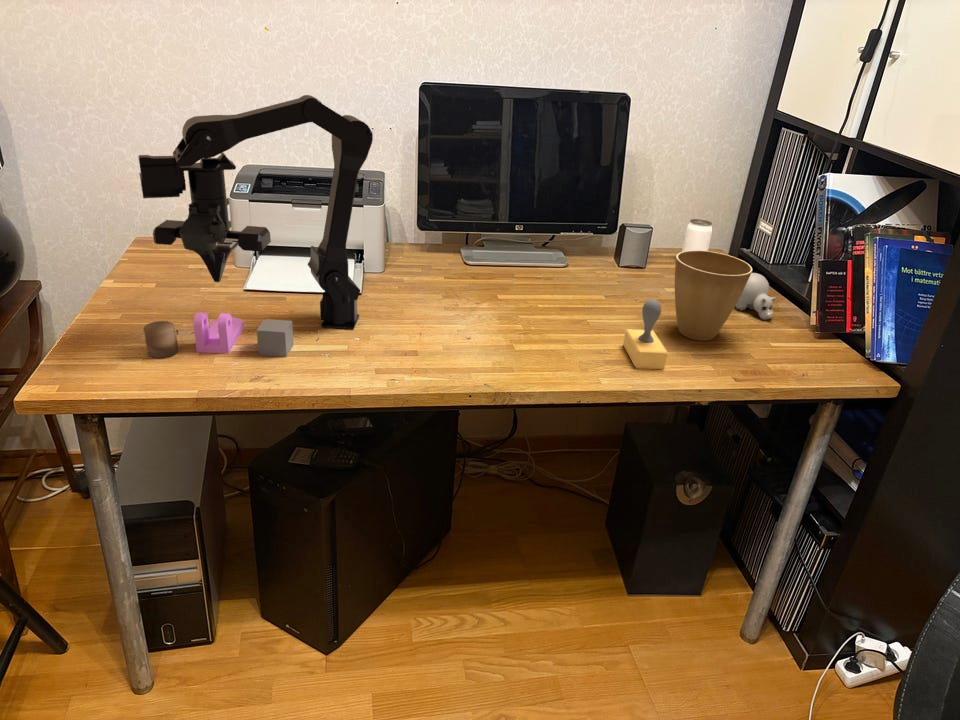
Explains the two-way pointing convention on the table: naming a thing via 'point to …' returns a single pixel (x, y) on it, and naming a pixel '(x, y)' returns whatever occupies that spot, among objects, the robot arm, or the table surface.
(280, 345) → the grey cube
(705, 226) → the can
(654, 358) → the rubber stamp
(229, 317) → the bracket
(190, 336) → the table surface
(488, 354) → the table surface
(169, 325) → the walnut cylinder
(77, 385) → the table surface
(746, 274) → the plant pot
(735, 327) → the table surface
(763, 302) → the chubby cartoon animal
